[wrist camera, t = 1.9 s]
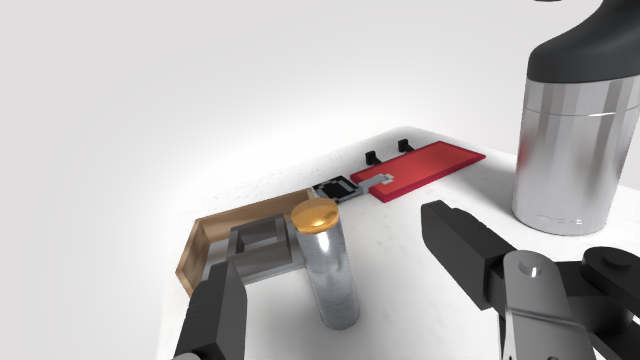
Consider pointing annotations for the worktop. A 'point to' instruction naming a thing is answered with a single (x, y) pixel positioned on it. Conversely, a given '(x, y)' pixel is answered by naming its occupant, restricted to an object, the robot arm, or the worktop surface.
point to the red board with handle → (400, 172)
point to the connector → (327, 261)
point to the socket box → (245, 241)
